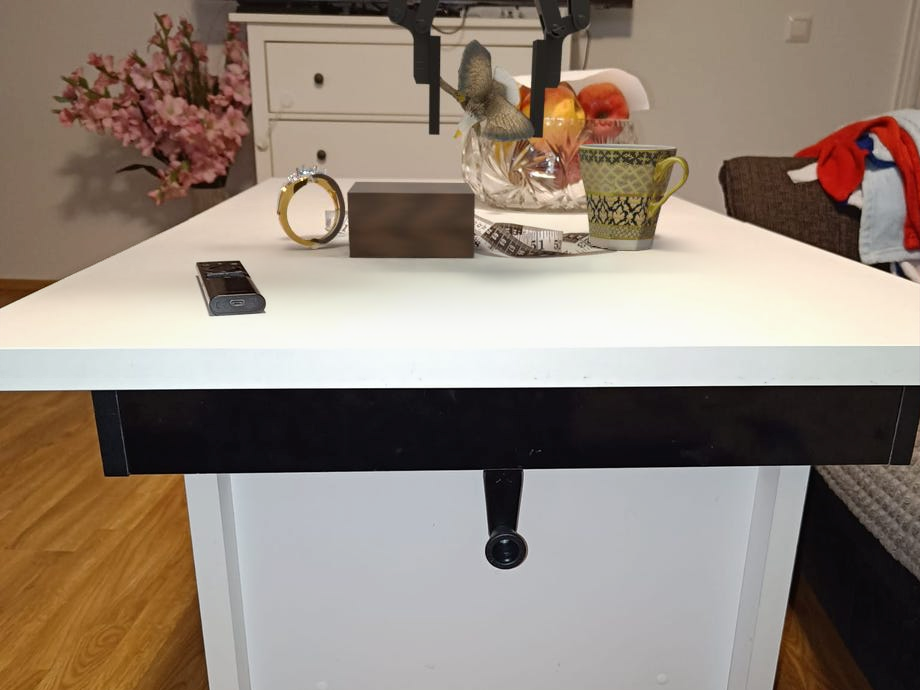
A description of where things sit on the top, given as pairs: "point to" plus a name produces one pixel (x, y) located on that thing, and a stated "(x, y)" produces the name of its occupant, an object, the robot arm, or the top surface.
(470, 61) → the eagle figurine
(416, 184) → the walnut block
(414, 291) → the top surface
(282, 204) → the ring
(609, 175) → the ceramic cup
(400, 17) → the robot arm
